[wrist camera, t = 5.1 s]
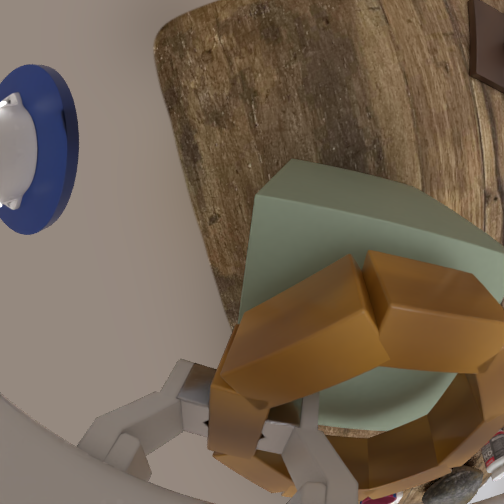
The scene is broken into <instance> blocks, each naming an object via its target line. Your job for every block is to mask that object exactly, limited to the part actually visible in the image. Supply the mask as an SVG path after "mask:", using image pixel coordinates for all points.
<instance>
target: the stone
mask: <svg viewBox="0 0 504 504" xmlns="http://www.w3.org/2000/svg"><path fill="white" fill-rule="evenodd" d="M482 478H483V472H482V471H481V470H479V469H477V468H472V467H469V466H465V465H463V466H460V467H455V468H453V469H452V472H451V473H449V474H447V475H444V476H443V477H442V478H441V479H440V480H438V481H436V482H435V483H434V484H432V485H431V486H430V487H429V488H428V489H427V491H426V492H425V493H424V495H423V497H422V501H423V503H424V504H467V503H468V502H469V501H470V500H471V499H472V498H473V497H474V495H475V494H476V493H477V491H478V489H479V487H480V485H481V483H482Z"/></svg>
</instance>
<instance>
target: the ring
mask: <svg viewBox="0 0 504 504" xmlns="http://www.w3.org/2000/svg"><path fill="white" fill-rule="evenodd" d="M378 366H380V367H388V368H398V369H407V370H418V371H431V372H446V373H457V375H456V376H455V378H454V379H453V381H452V382H451V384H450V385H449V386H448V388H447V389H446V391H445V392H444V393H443V395H442V396H441V397H440V399H439V400H438V401H437V403H436V404H435V405H434V407H433V408H432V409H431V410H430V412H429V413H428V414H427V415H425V416H422V417H420V418H418V419H416V420H413V421H411V422H409V423H407V424H404V425H402V426H399V427H397V428H394V429H392V430H389V431H387V432H384V433H381V434H379V435H376V436H373V437H370V438H368V439H367V438H352V437H340V436H330V435H325V436H326V437H327V439H328V440H329V442H330V443H331V445H332V446H333V448H334V449H335V451H336V452H337V454H338V455H339V456H340V458H341V459H342V461H343V462H344V464H345V465H346V467H347V468H348V469H349V471H350V472H351V474H352V475H353V477H354V478H355V479H356V481H357V482H358V501H363V500H364V499H365V498H367V497H370V498H371V499H377V498H381V497H384V496H388V495H391V494H395V493H398V492H401V491H404V490H407V489H410V488H413V487H416V486H419V485H422V484H424V483H427V482H429V481H432V480H435V479H437V478H439V477H442V476H444V475H447V474H449V473H451V472H452V469H451V468H453V467H459V466H462V465H463V464H464V463H466V462H467V461H468V460H469V459H470V458H471V457H472V456H473V455H475V454H476V453H477V452H478V451H479V450H480V449H481V448H482V447H483V446H484V445H485V444H486V443H487V442H488V441H489V440H490V439H491V438H492V437H493V436H494V435H495V434H496V433H497V432H498V431H499V430H500V429H501V428H502V427H503V426H504V309H503V308H502V306H501V305H500V304H499V303H498V302H497V300H496V299H495V298H494V297H493V296H492V294H491V293H490V292H489V291H488V290H487V289H486V288H485V286H484V285H483V284H482V283H481V282H480V281H479V280H478V279H477V278H476V277H475V276H474V275H473V274H472V273H468V272H464V271H460V270H456V269H452V268H448V267H443V266H439V265H435V264H431V263H426V262H422V261H418V260H413V259H409V258H404V257H400V256H395V255H391V254H386V253H382V252H377V251H373V250H368V252H367V254H366V258H365V261H364V265H363V268H362V270H361V269H360V267H359V266H358V264H357V262H356V261H355V259H354V257H353V256H352V255H351V254H347V255H346V256H344V257H342V258H341V259H339V260H337V261H336V262H334V263H332V264H331V265H329V266H327V267H325V268H324V269H322V270H320V271H318V272H317V273H315V274H313V275H312V276H310V277H308V278H306V279H305V280H303V281H301V282H299V283H297V284H296V285H294V286H292V287H290V288H289V289H287V290H285V291H283V292H281V293H280V294H278V295H276V296H274V297H272V298H270V299H269V300H267V301H265V302H263V303H261V304H259V305H258V306H256V307H254V308H252V309H250V310H248V311H246V312H245V313H244V314H243V317H242V320H241V322H240V324H236V325H235V327H234V329H233V332H232V334H231V337H230V339H229V341H228V344H227V346H226V349H225V351H224V354H223V356H222V358H221V361H220V363H219V366H218V368H217V370H216V373H215V375H214V378H213V380H212V383H211V385H210V400H209V420H208V427H209V428H208V437H207V448H208V449H209V450H211V451H214V453H213V457H214V458H215V459H217V460H218V461H220V462H221V463H222V464H224V465H226V466H227V467H229V468H230V469H232V470H233V471H235V472H236V473H238V474H240V475H242V476H243V477H245V478H246V479H248V480H250V481H251V482H253V483H255V484H256V485H258V486H260V487H262V488H263V489H265V490H267V491H269V492H271V493H276V492H282V496H285V497H293V496H294V494H295V493H296V492H297V489H296V487H295V485H294V482H293V480H292V478H291V476H290V474H289V472H288V469H287V467H286V465H285V463H284V461H283V458H282V456H281V455H282V454H277V453H272V452H267V451H262V450H258V449H256V448H257V444H258V441H259V439H260V438H261V436H262V433H261V432H262V429H263V426H264V423H265V420H266V419H267V418H268V415H269V412H270V409H271V408H273V407H276V406H279V405H282V404H285V403H288V402H291V401H294V400H297V399H300V398H303V397H306V396H309V395H311V394H314V393H317V392H319V391H322V390H325V389H327V388H330V387H332V386H335V385H337V384H340V383H342V382H345V381H347V380H349V379H352V378H354V377H356V376H359V375H361V374H363V373H365V372H368V371H370V370H372V369H374V368H376V367H378Z"/></svg>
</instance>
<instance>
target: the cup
mask: <svg viewBox="0 0 504 504" xmlns="http://www.w3.org/2000/svg"><path fill="white" fill-rule="evenodd" d="M396 499H397V494H396V493H395V494H391V495H388V496H384V497H381V498H377V499H371V498H370V497H367V498H365V499H364V500H363V501H360V504H390V503H392V502H394V501H395V500H396Z"/></svg>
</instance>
